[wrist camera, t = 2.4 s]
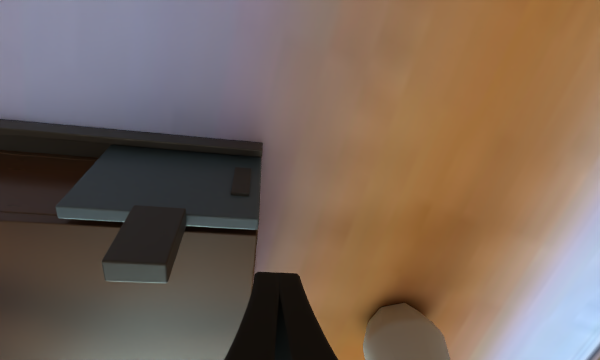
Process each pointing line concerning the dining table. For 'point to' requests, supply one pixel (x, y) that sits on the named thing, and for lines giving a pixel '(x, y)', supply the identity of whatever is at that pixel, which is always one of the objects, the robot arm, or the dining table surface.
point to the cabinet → (91, 250)
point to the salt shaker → (403, 336)
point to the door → (162, 203)
